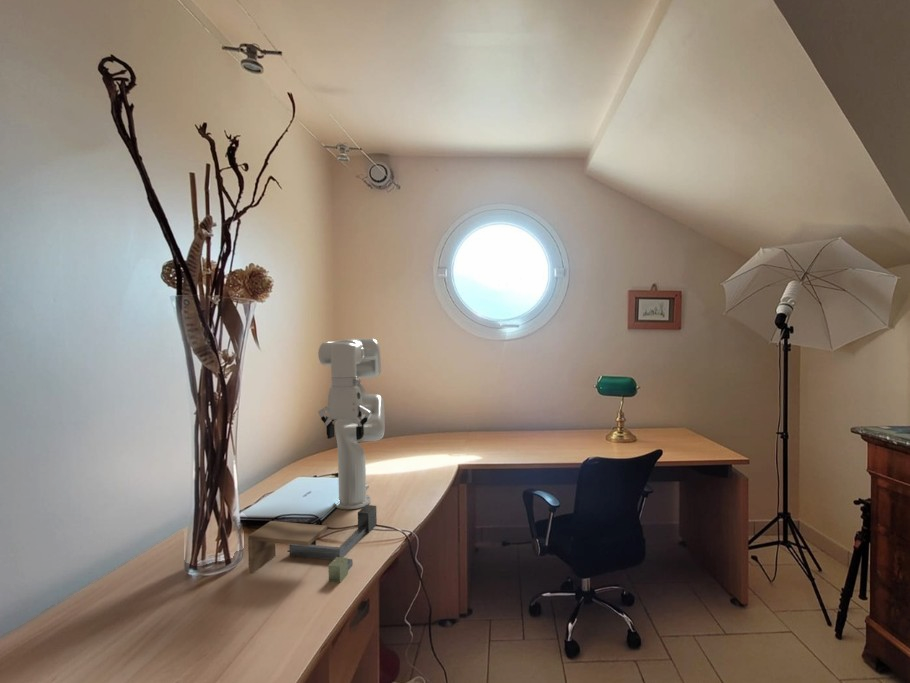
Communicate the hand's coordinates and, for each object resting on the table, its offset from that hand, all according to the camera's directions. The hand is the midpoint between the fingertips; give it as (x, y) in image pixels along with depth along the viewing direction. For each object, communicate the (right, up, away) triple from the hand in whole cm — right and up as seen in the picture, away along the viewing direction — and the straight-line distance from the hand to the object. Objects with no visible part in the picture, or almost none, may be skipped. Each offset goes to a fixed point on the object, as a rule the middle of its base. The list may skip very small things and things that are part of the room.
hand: (345, 438), depth 132 cm
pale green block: (+6, -28, -25) cm, 38 cm away
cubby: (-9, -29, -22) cm, 37 cm away
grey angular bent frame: (-1, -28, -6) cm, 29 cm away
